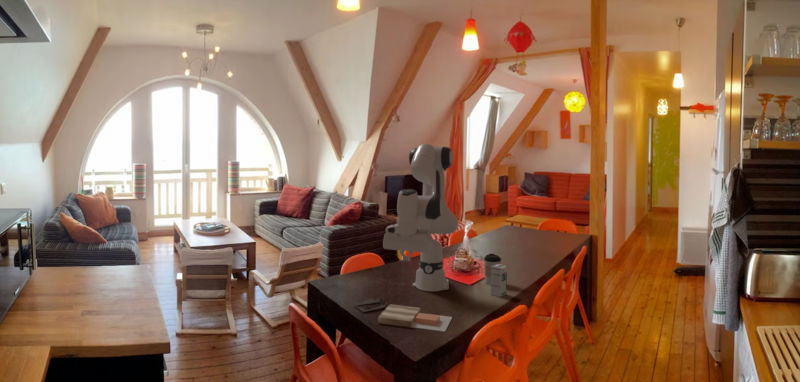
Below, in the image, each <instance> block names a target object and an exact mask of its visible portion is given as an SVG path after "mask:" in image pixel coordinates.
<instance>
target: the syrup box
mask: <svg viewBox="0 0 800 382" xmlns="http://www.w3.org/2000/svg"><path fill="white" fill-rule="evenodd" d="M507 277H508V266H507V265H505V264H501V263H500V264H497V265H494V266H492V267H491V285H490V295H491V296H495V297H497V298H498V297H499V298H501V297H503V296H506V295H507V286H508V285H507V284H508V283H507V280H508V279H507Z"/></svg>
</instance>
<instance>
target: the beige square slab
mask: <svg viewBox="0 0 800 382" xmlns="http://www.w3.org/2000/svg"><path fill="white" fill-rule="evenodd" d="M418 313H422V312H421V307H417V306H416V307H413V306H406V305H399V304H391V303H390V304H389V305H387V307H385V309H384V310H383V311H382V312H381V313H380V315H378V317H377V323H378V324H383V325H391V326H399V327H404V326H405V328H411V326H412V324H413V323H414V322H415V318H416V316H417V315H418Z"/></svg>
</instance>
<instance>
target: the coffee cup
mask: <svg viewBox="0 0 800 382" xmlns="http://www.w3.org/2000/svg"><path fill="white" fill-rule="evenodd" d="M483 261H484V264H483V269H484V270H483V271H484V272H483V273H484V283H485V284H486V285H490V286H491V267H492V266H494V265H497V264H500V265H501V262H502V258H501V257H500V256H499V255H497V254H495V253H488V254H487V255H485V256H484V258H483Z"/></svg>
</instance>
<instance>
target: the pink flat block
mask: <svg viewBox="0 0 800 382" xmlns="http://www.w3.org/2000/svg"><path fill="white" fill-rule="evenodd" d="M440 316H441V315H440ZM440 316H439V314H432V313H425V314H424V313H423V312H421V313H418V315H417V316H416V318H415V323H422V324H429V325H437V324H438V322H439V320H440Z"/></svg>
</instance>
